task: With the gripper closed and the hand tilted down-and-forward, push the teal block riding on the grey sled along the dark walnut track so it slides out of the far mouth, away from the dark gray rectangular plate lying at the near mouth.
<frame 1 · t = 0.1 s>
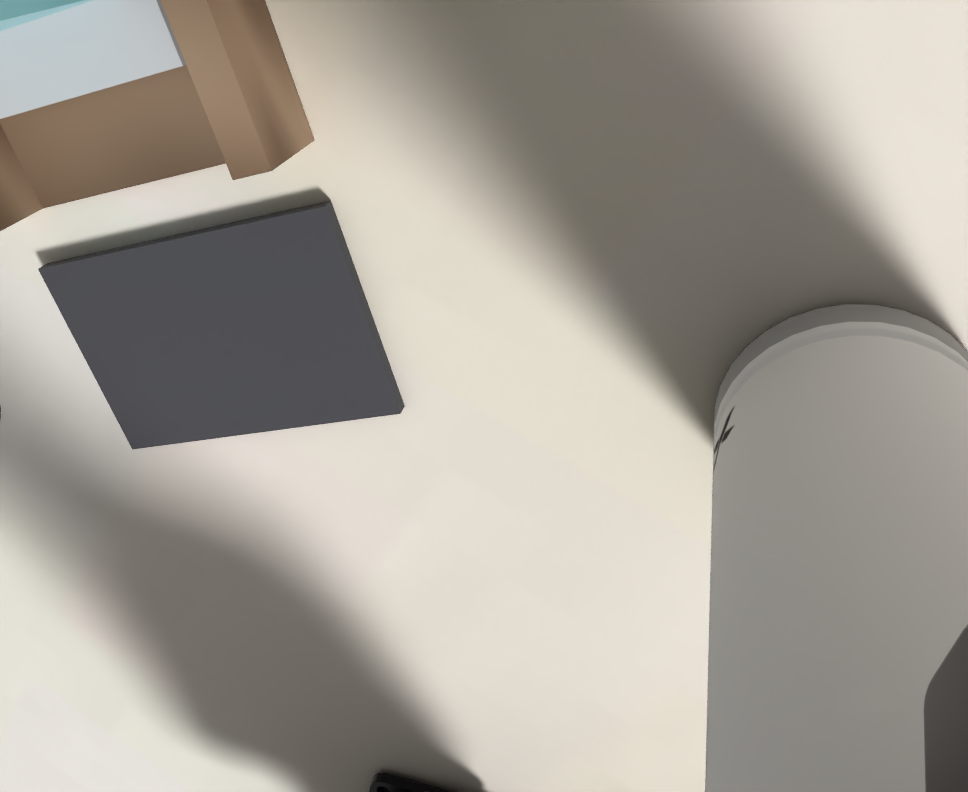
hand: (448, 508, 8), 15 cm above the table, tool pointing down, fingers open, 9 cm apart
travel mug: (837, 414, 23), on the table
dark gray rectangular plate: (224, 334, 26), on the table
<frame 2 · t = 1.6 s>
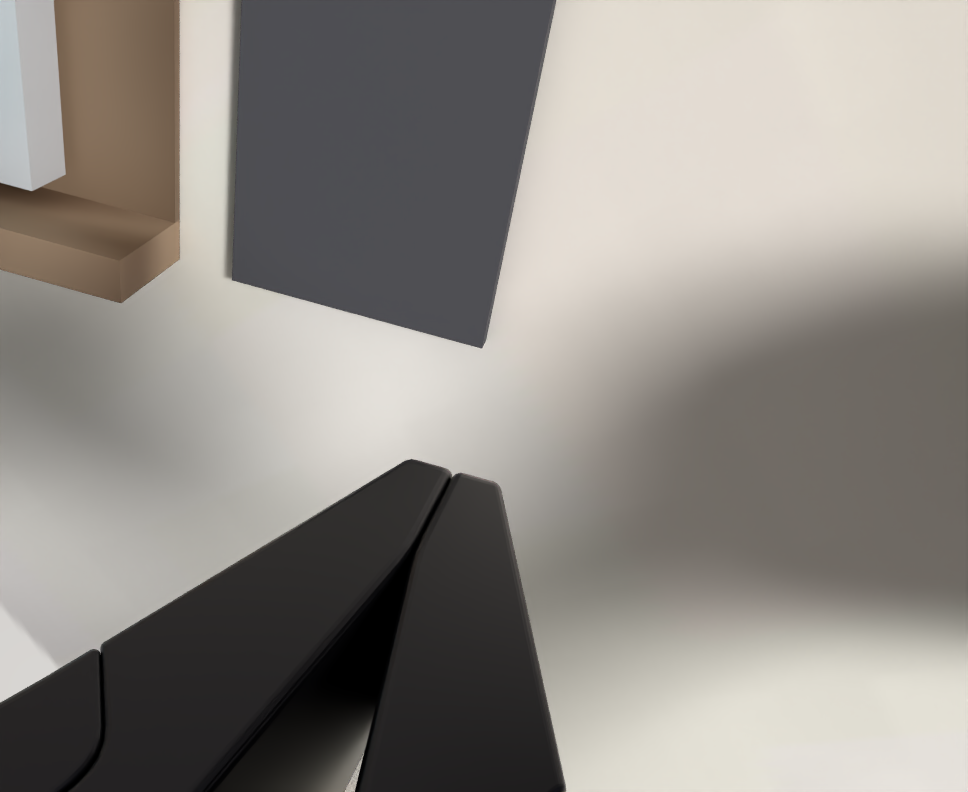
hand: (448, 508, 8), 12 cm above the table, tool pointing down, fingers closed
dark gray rectangular plate: (384, 113, 19), on the table
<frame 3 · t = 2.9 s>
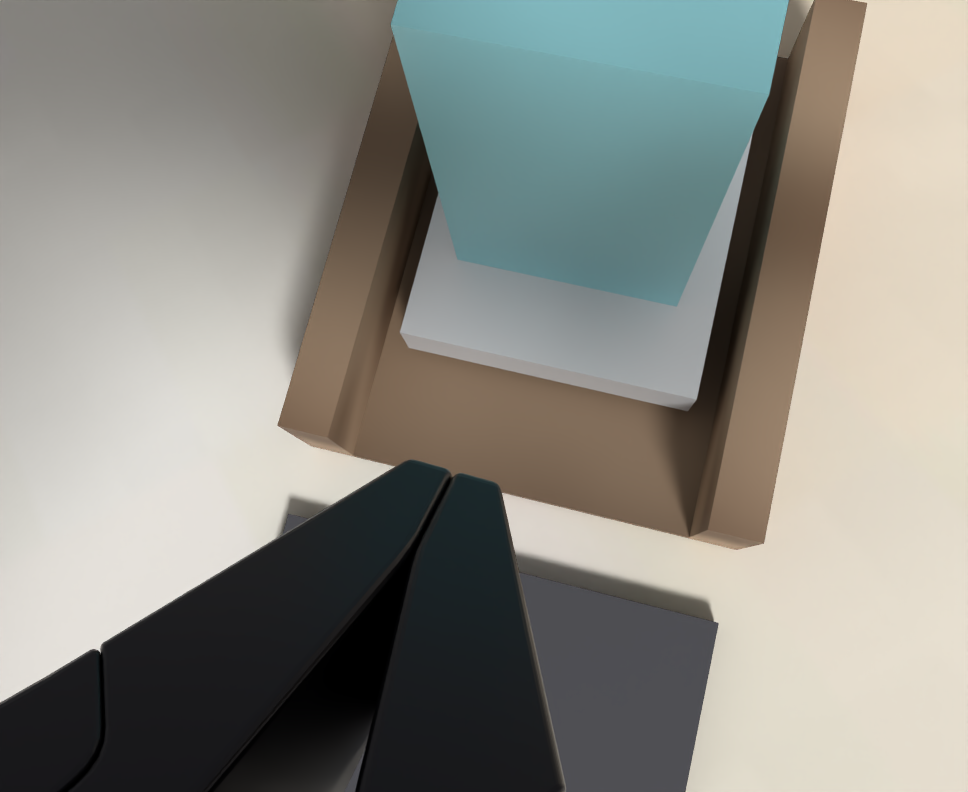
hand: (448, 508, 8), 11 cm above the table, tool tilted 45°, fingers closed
dark gray rectangular plate: (462, 714, 19), on the table
sled: (598, 93, 16), point 5 cm above the table, slide at 0.0 cm
track: (576, 254, 20), on the table
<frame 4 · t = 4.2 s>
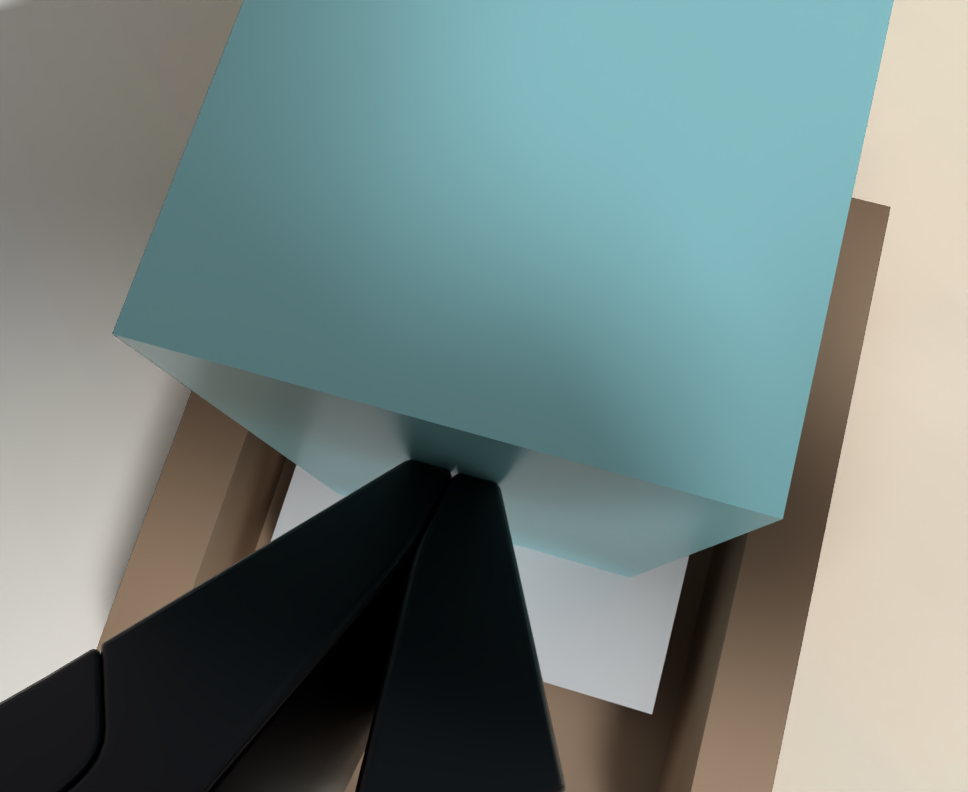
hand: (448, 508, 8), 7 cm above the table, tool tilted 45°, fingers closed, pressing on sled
sled: (523, 323, 11), point 5 cm above the table, slide at 0.5 cm, touching gripper
track: (497, 498, 16), on the table
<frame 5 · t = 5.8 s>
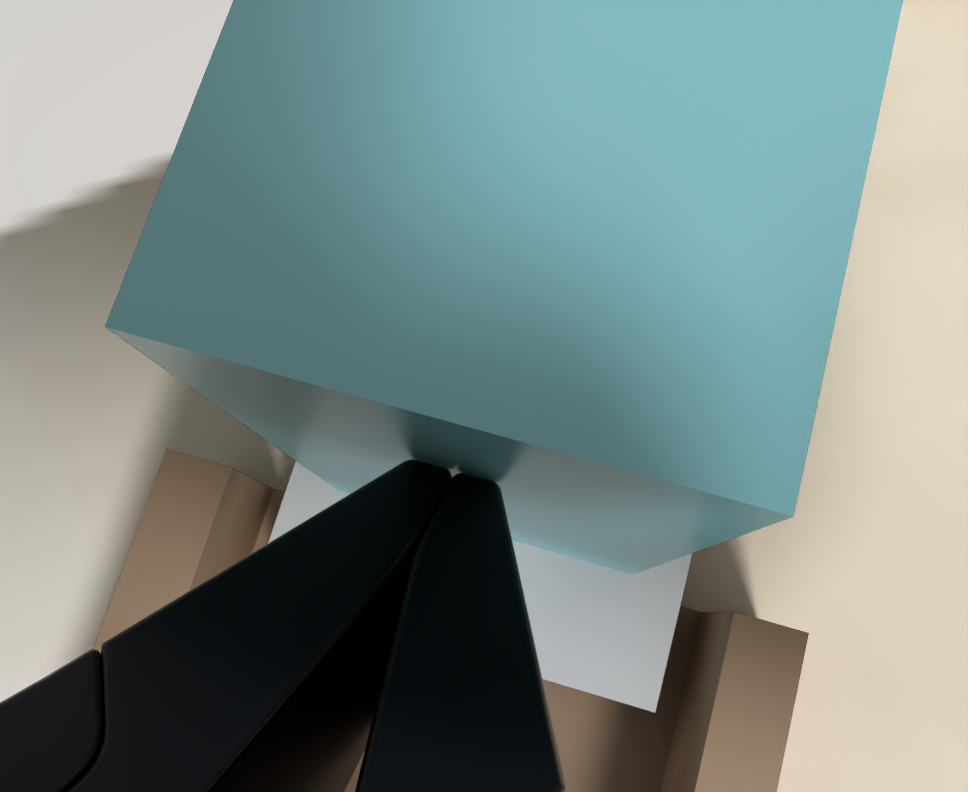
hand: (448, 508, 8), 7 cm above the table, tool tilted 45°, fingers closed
sled: (525, 317, 11), point 5 cm above the table, slide at 6.9 cm
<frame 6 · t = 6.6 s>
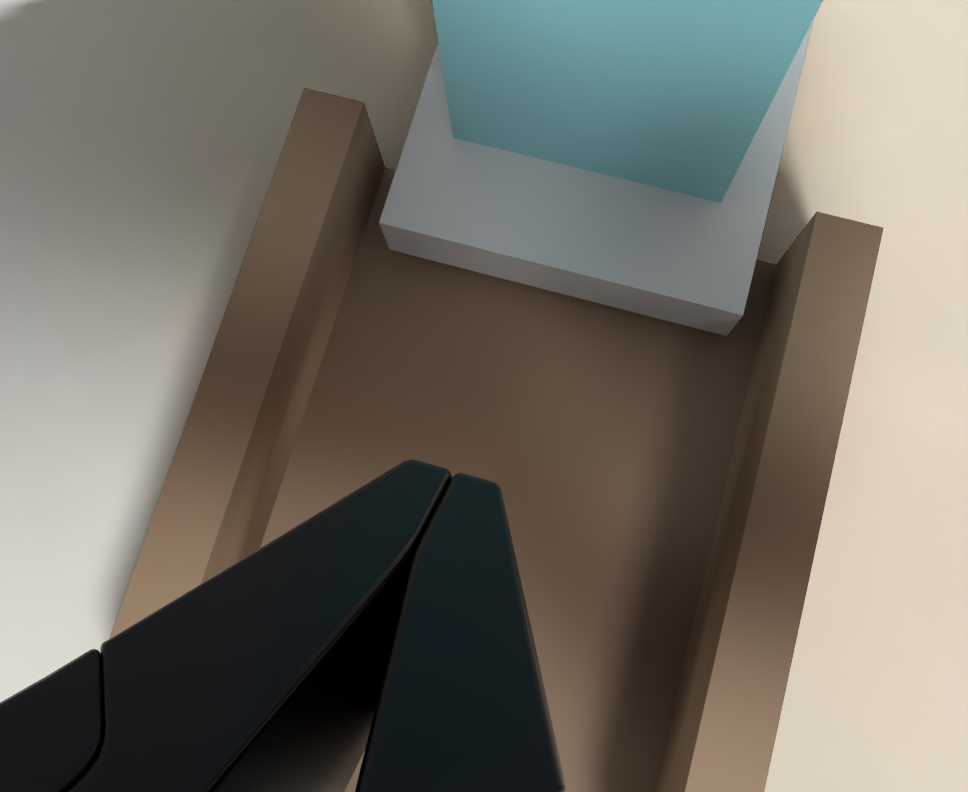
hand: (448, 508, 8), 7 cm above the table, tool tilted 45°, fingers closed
track: (493, 513, 16), on the table
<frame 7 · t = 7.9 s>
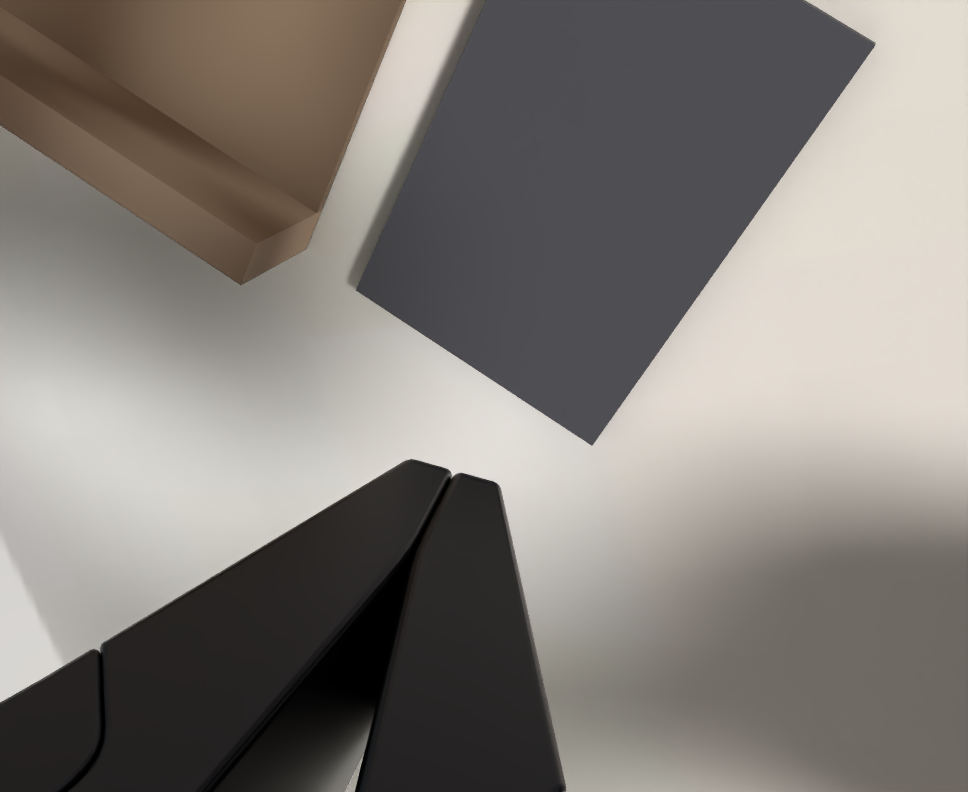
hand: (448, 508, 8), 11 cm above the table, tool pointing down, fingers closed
dark gray rectangular plate: (581, 181, 17), on the table
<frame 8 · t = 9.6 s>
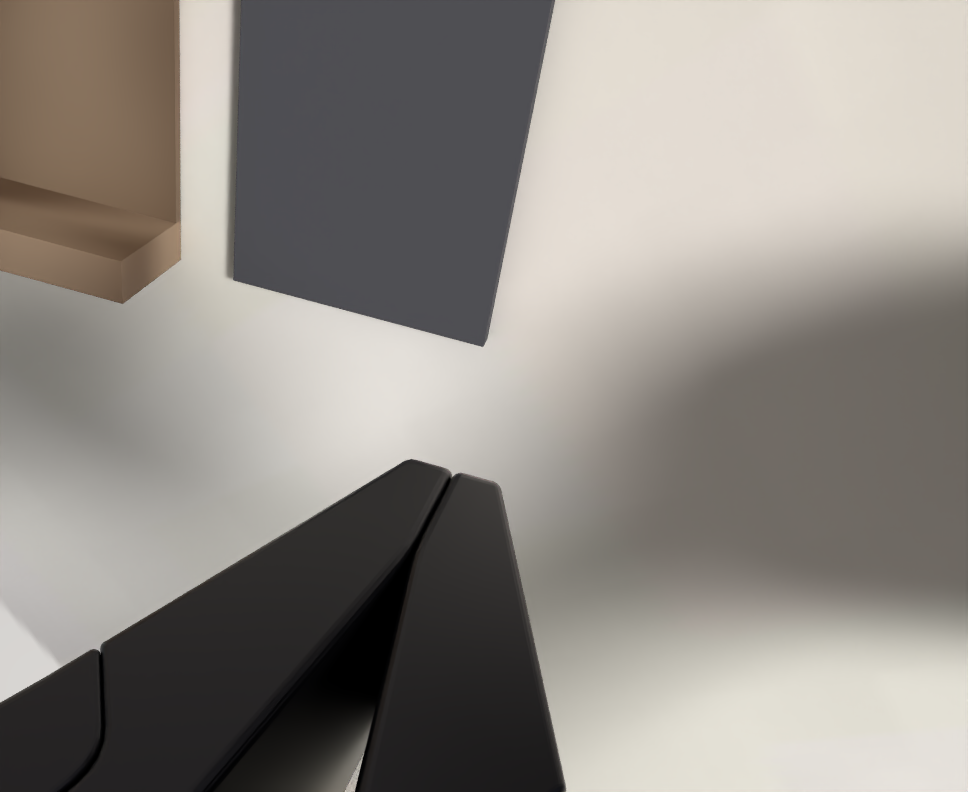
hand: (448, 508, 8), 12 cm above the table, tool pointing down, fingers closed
dark gray rectangular plate: (384, 112, 19), on the table
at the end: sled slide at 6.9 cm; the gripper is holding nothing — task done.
